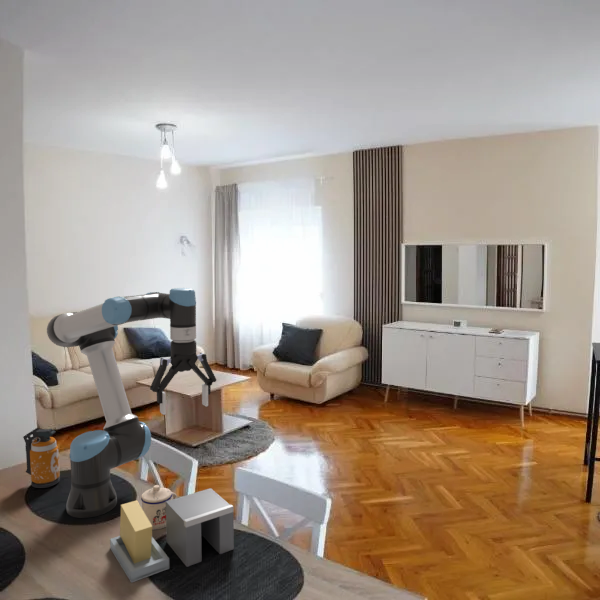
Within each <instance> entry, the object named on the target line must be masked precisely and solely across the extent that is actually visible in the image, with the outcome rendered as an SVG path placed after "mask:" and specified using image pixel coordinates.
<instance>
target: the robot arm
mask: <svg viewBox="0 0 600 600" xmlns="http://www.w3.org/2000/svg"><path fill="white" fill-rule="evenodd" d="M196 299H197V298H196V291H195V290H194V289H193V288H190V287H174V288H171V289H170V290H169V293H163V292H159V291H156V292H155V291H154V292H150V291H149V292H147V293H145V294H139V295H128V296H114V297H110V298H109V297H108V298H107V299H105V300H104V302H103V303H101V304H98V305H95V306H92V307H89V308H86V309H84V310H83V309H82V310H80V311H75V312H65V313H61V314H58V315H56V316H54V317H52V319H50V321H48V323H47V327H46V335H47V337H48V339H49V340H50V342H52V343H53V344H55V345H56V346H59V347H62V348H74V347H78V348H79V350H80V353H81V354H83V355H85V356H86V357H87V361H88V363H89V367H90V371H91V374H92V379H93V381H94V384H95V387H96V391H97V395H98V398H99V401H100V405H101V409H102V411H103V415H104V418H105V421H106V422H105V424H104V426H103V430H102V429H95V430H93V431H92V430H89V431H85V432H84V433H81V434H79V435H77V436H76V437H75V438H74V439H73V440H72V441H71V443H70V445H69V448H70V449H69V459H70V463H69V464H70V476H71V477H70V479H71V486H70V490H69V494H68V497H67V500H66V504H65V505H66V507H65V508H66V513H67V515H69V516H70V517H73V518H78V519H87V518H95V517H98V516H102V515H104V514H106V513H109V512H111V511H112V510H113V509H114V508H115V507H116V506H117V504H118V498H117V497H118V496H117V492H116V490H115V487H114V485H113V483H112V480H111V470H112V469H115V468H118V467H120V466H122V465H125V464H128V463H130V462H133V461H137V460H138V459H139V458H142V457H144V456H145V455H146V454H147V453H148V452H149V451H150V447H151V444H152V433H151V430H150V428H149V426H148V425H147V423H145V422H143V421H140V419H139V416H137V415H136V414H133V413H132V409H131V406H130V403H129V400H128V397H127V394H126V390H125V386H124V383H123V379H122V377H121V373H120V370H119V366H118V363H117V360H116V357H115V356H116V355H115V352H114V350H113V347H114V346H115V344H116V340H115V339H116V338H117V337H118V334H119V326H121V325H123V324H127V323H133V322H138V321H145V320H146V321H147V320H155V319H169V321H170V322H169V323H170V324H169V327H170V330H169V331H170V332H169V334H170V340H171V341H170V357H169V358H164V357H161V358H160V360H159V367H158V368H157V371H156V373H155V376H154V378H153V380H152V382H151V385H150V387H149V389H150V390H151V391H152V392H153V393H156V402H157V403H158V404H159V413H161V415H163V416H165V415H167V403H166V402H167V401H166V399H167V398H166V397H167V396H166V395H167V393H166V392H165V390H166V388H167V387H168V385H169V384H170V382H171V381H172V380H173V378H174V377H175V376H176V375H177V374H178V373H179V372H180V373H183V372H185V371H186V372H189V371H193V372H194V373H195V374H196V375H197V376H198V377H199V379H201V381H202V382H203V383H202V384H201V401H202V402H201V404H202V405H203V406H205V407H208V406H209V396H210V395H211V393H212V391H211V386H212V385H213V383H216V382H217V378H216V376H215V374H214V372H213V370H212V368H211V366H210V364H209V362H208V359H207V355H206V354H205V353H203V352H199V354H197V340H196V339H197V307H196V306H197V300H196ZM197 361H199V362H200V363H201V366H202V367H203V370H204V371H205V373H206V375H207V376H206V375H205V373H203V372H202V371H201V369H200V368H199V367H198V365H197V364H196V363H197ZM169 365H171V366H170V367H169V369H168V371H167V367H168V366H169ZM166 371H167V373H166V374H165V372H166ZM164 374H165V376H164Z"/></svg>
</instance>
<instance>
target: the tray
mask: <svg viewBox="0 0 600 600" xmlns="http://www.w3.org/2000/svg"><path fill="white" fill-rule="evenodd" d="M109 545H110V546H109V547H110V550H111V552H112V553H113V555H114V557H115V558H116V560H117V561H118V563H119V565H120V567H121V569H122V570H123V571H124V573H125V575H126V576H127V578H128V579H129V581H130V583H134V582H137V581H139V580H142V579H146V578H147V577H150V576H153V575H156V574H159V573H161V572H163V571H166V570H169V569H170V557H169V556H168V555H167V554H166V552H165V551H164V550H163V549H162V547H161V546H160V545H159V543H158V542H157V541H156V540H155V538H154V537H153V536H152V542H151V558H149V559H146V560H143V561H140V562H137V563H135V564H134V563H133V561H132V559H131V556H130V554H129V552H128V550H127V548H126V546H125V544H124V542H123V540H122V538H121V536H120V535H118V536H115V537H111V538H109Z"/></svg>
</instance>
